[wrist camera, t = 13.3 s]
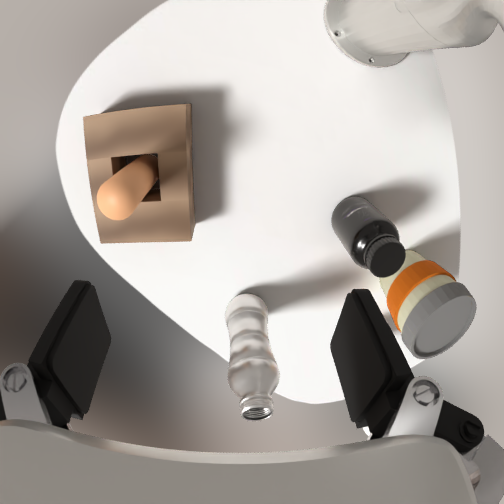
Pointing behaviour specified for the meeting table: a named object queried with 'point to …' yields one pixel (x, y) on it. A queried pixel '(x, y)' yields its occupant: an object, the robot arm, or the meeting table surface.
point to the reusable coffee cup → (427, 306)
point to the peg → (128, 187)
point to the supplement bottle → (368, 236)
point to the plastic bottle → (251, 357)
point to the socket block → (169, 162)
